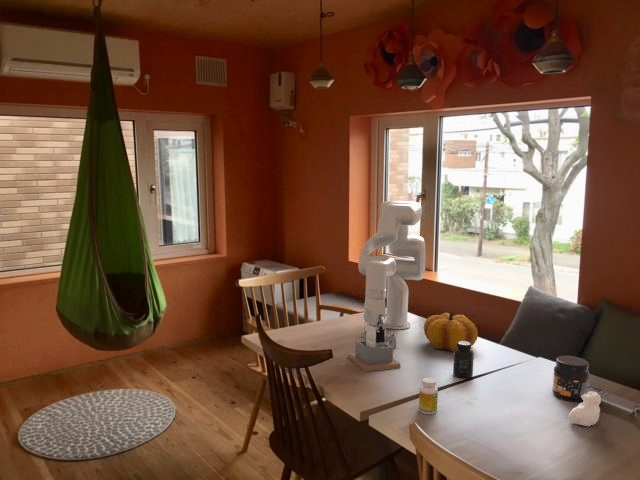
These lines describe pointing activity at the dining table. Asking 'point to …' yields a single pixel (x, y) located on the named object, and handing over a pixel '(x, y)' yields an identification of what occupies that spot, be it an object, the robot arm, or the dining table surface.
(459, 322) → the decorative pumpkin
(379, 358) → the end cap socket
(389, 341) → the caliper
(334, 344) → the dining table surface
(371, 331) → the syrup box
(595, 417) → the bust
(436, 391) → the supplement bottle
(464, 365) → the supplement bottle
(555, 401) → the dining table surface
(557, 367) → the supplement container
